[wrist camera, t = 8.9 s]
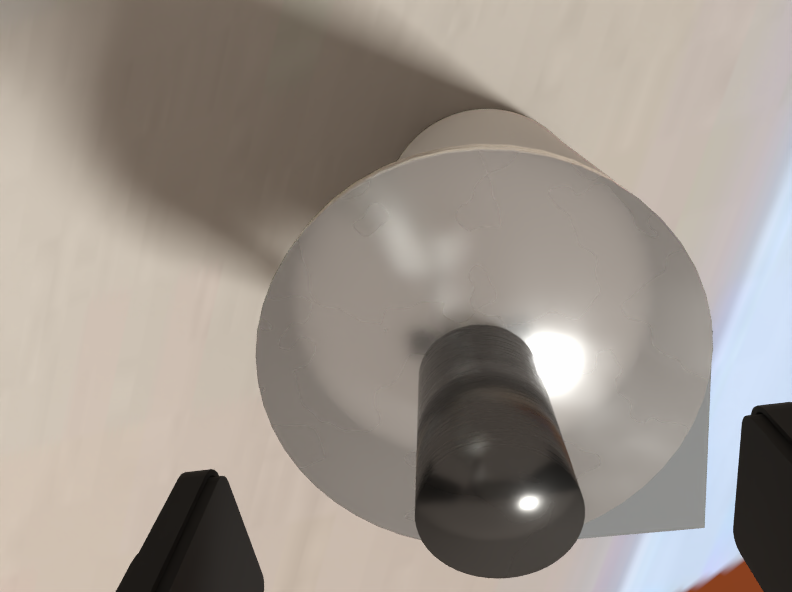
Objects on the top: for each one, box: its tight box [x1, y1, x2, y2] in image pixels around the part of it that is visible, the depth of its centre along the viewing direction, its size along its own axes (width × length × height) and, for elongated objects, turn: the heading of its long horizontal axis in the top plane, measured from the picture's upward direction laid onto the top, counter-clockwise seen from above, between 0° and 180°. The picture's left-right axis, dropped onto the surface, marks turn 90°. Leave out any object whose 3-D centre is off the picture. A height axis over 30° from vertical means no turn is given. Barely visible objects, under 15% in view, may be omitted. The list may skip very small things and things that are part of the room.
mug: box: [398, 109, 614, 181], centre depth 22 cm, size 12×8×11 cm
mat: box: [578, 331, 713, 539], centre depth 30 cm, size 12×12×1 cm
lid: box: [256, 144, 713, 578], centre depth 14 cm, size 12×12×6 cm
